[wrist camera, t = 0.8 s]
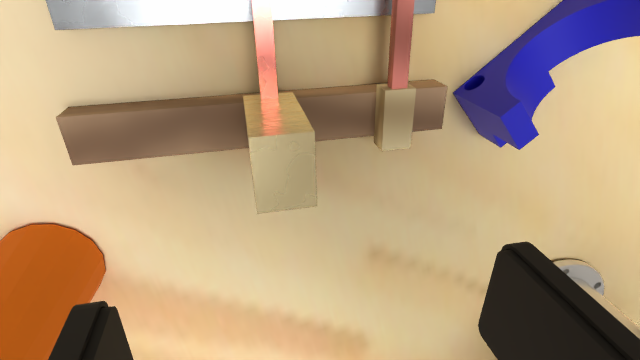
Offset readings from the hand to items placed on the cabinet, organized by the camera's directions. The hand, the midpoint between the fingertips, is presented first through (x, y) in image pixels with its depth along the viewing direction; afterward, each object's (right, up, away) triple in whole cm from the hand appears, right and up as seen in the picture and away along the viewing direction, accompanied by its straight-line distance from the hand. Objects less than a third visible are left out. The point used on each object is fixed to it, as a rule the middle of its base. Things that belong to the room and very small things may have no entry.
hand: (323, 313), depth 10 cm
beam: (-4, +10, +16) cm, 19 cm away
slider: (-3, +9, +14) cm, 17 cm away
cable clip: (+16, +12, +20) cm, 28 cm away
